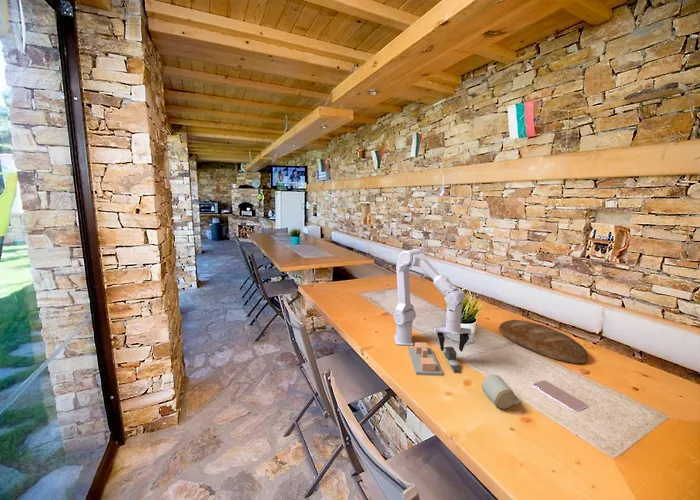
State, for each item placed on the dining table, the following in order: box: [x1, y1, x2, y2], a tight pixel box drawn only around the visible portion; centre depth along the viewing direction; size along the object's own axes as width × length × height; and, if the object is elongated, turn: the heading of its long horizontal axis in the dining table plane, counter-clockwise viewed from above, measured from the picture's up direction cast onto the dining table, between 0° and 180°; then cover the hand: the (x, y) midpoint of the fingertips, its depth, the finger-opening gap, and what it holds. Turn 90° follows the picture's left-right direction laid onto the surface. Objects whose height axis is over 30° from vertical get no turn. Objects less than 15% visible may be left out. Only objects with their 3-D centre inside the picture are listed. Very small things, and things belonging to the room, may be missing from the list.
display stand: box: [407, 341, 444, 376], centre depth 121 cm, size 19×10×5 cm, turn 178°
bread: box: [498, 319, 589, 365], centre depth 137 cm, size 22×37×8 cm, turn 29°
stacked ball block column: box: [441, 346, 461, 374], centre depth 122 cm, size 17×4×5 cm, turn 178°
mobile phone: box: [531, 380, 589, 412], centre depth 102 cm, size 8×1×15 cm
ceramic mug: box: [481, 374, 520, 410], centre depth 98 cm, size 11×8×8 cm
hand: (451, 350), depth 121 cm, fingers open, 7 cm apart
